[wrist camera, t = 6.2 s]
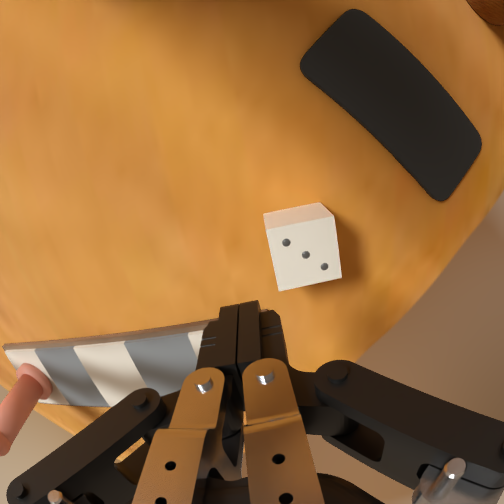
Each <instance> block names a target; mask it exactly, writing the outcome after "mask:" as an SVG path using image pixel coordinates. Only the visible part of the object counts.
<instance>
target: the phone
mask: <svg viewBox="0 0 504 504" xmlns="http://www.w3.org/2000/svg"><path fill="white" fill-rule="evenodd" d="M300 69H301V71H302V73H303V75H304V76H305V77H306V78H307V79H308V80H310V81H311V82H312V83H313V84H314V85H316V86H317V87H318V88H319V89H321V90H322V91H323V92H324V93H326V94H327V95H328V96H329V97H330V98H332V99H333V100H334V101H335V102H336V103H338V104H339V105H340V106H341V107H342V108H343V109H345V110H346V111H347V112H348V113H349V114H350V115H351V116H352V117H354V118H355V119H356V120H357V121H358V122H359V123H360V124H361V125H362V126H363V127H364V128H366V129H367V130H368V131H369V132H370V133H371V134H372V135H373V136H374V137H375V138H376V139H377V140H378V141H379V142H380V143H381V144H382V145H383V146H384V147H385V148H386V149H387V150H388V151H389V152H390V153H391V154H392V155H393V156H394V157H395V159H396V160H397V161H398V162H399V163H400V164H401V165H402V166H403V167H404V168H405V169H406V170H407V171H408V172H409V173H410V174H411V175H412V176H413V177H414V179H415V180H416V181H417V182H418V183H419V184H420V185H421V186H422V188H423V189H424V190H425V191H426V192H427V193H428V194H429V195H430V196H431V197H432V198H433V199H435V200H438V201H444V200H446V199H447V198H448V197H449V196H450V195H451V194H452V192H453V191H454V190H455V188H456V187H457V185H458V184H459V183H460V181H461V180H462V178H463V177H464V175H465V174H466V172H467V171H468V169H469V168H470V166H471V165H472V163H473V162H474V160H475V159H476V157H477V156H478V154H479V152H480V150H481V146H482V141H481V137H480V135H479V133H478V131H477V130H476V128H475V127H474V126H473V124H472V123H471V122H470V120H469V119H468V118H467V116H466V115H465V114H464V112H463V111H462V110H461V108H460V107H459V106H458V105H457V103H456V102H455V101H454V100H453V98H452V97H451V96H450V95H449V94H448V92H447V91H446V90H445V89H444V88H443V87H442V85H441V84H440V83H439V82H438V81H437V80H436V79H435V78H434V77H433V75H432V74H431V73H430V72H429V71H428V70H427V69H426V68H425V67H424V66H423V65H422V64H421V63H420V62H419V61H418V60H417V59H416V58H415V57H414V56H413V55H412V54H411V53H410V52H409V51H408V50H407V49H406V48H405V47H404V46H403V45H402V44H401V43H400V42H399V41H398V40H397V39H396V38H395V37H393V36H392V35H391V34H390V33H389V32H388V31H387V30H386V29H384V28H383V27H382V26H381V25H380V24H379V23H377V22H376V21H375V20H374V19H373V18H371V17H370V16H369V15H367V14H366V13H364V12H363V11H361V10H357V9H350V10H348V11H346V12H345V13H344V14H343V15H342V16H341V17H340V18H339V19H338V20H337V21H336V22H335V23H334V24H333V25H332V26H331V27H330V28H329V29H328V30H327V31H326V32H325V33H324V34H323V35H322V36H321V37H320V38H319V39H318V40H317V41H316V42H315V44H314V45H313V46H312V47H311V48H310V49H309V50H308V51H307V52H306V54H305V55H304V56H303V58H302V60H301V62H300Z"/></svg>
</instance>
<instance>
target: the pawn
mask: <svg viewBox="0 0 504 504" xmlns="http://www.w3.org/2000/svg"><path fill="white" fill-rule="evenodd" d="M16 375H17V378H18V381H17V382H16V384H15V385H14V386H13V388H12V389H11V390H10V392H9V393H8V395H7V396H6V397H5V399H4V400H3V402H2V403H1V404H0V456H4V455H6V454H7V453H8V452H9V450H10V447H11V445H12V443H13V441H14V440H15V438H16V436H17V434H18V433H19V431H20V429H21V428H22V426H23V424H24V423H25V421H26V420H27V418H28V416H29V415H30V413H31V411H32V410H33V408H34V407H35V405H36V404H37V402H38V400H39V399H41V400H46V399H48V398H49V396H50V394H51V393H52V391H53V387H52V384H51V382H50V381H49V379H48V378H47V376H46V375H45V374H44V373H43V372H42V371H41V370H40V369H38V368H37V367H35V366H34V365H32V364H29V363H23V364H22V365H21V366H20V367H19V368H18V370H17V371H16Z"/></svg>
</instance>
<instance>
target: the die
mask: <svg viewBox="0 0 504 504" xmlns="http://www.w3.org/2000/svg"><path fill="white" fill-rule="evenodd" d="M263 215H264V221H265V228H266V233H267V238H268V242H269V247H270V251H271V256H272V261H273V265H274V270H275V275H276V280H277V284H278V289H279V291H283V290H288V289H292V288H297V287H302V286H307V285H311V284H316V283H320V282H325V281H329V280H334V279H338V278H342V275H341V266H340V257H339V249H338V241H337V234H336V226H335V219H334V215H333V214H332V213H331V212H330V211H329V210H327V209H326V208H325V207H324V206H323V205H322V204H321V203H320V202H318V203H313V204H308V205H303V206H298V207H293V208H288V209H283V210H278V211H274V212H269V213H264V214H263Z"/></svg>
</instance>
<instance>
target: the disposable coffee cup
mask: <svg viewBox="0 0 504 504" xmlns="http://www.w3.org/2000/svg"><path fill="white" fill-rule="evenodd" d="M467 1H468V3H469V4H470V6H471V7H472V8H473V9H474V11H475V12H476V13H477V14H478V15H479V16H481V17H482V18H483V19H484V20H486V21H487V22H489V23H491V24H493V25H497V26H500V25H504V0H467Z"/></svg>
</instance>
